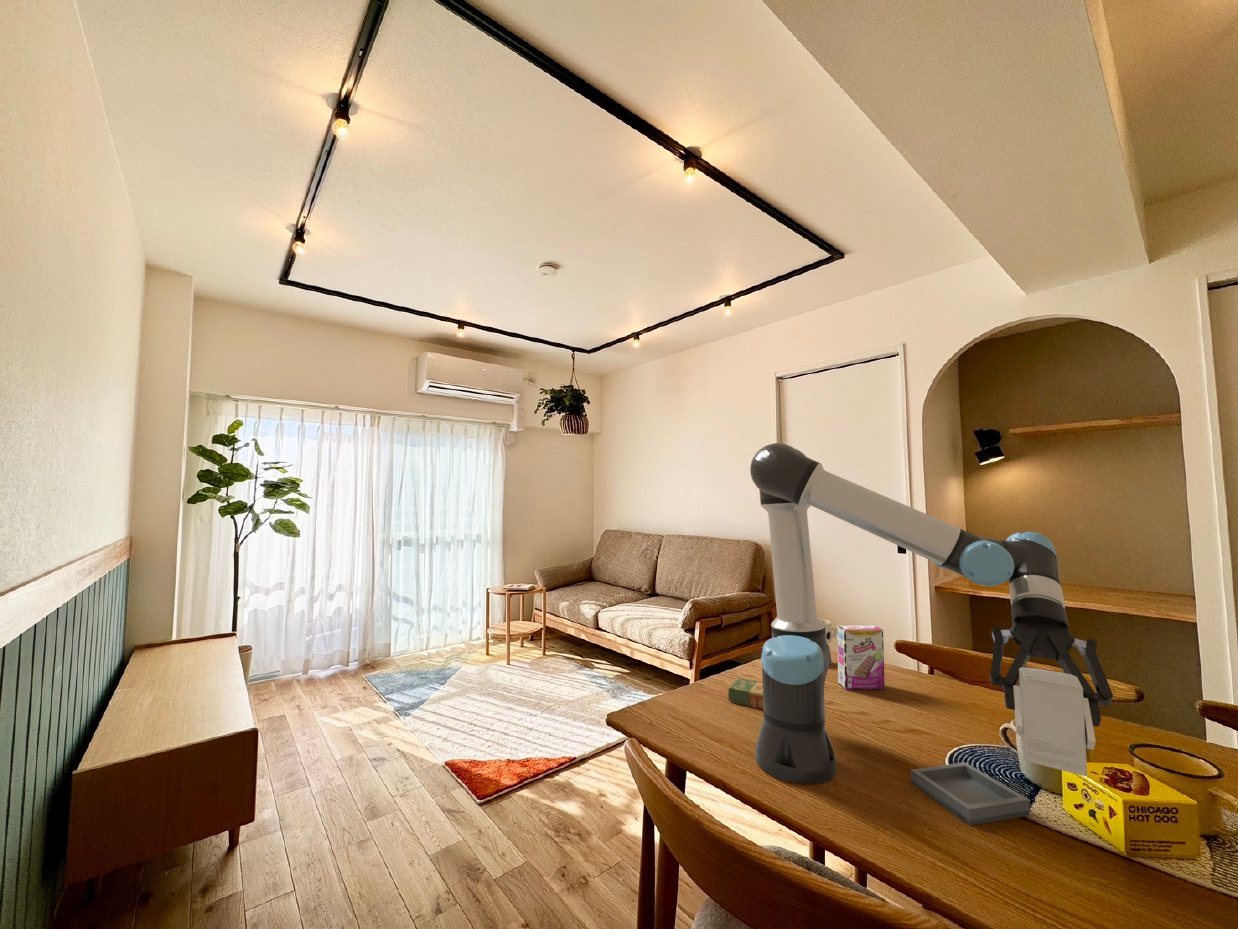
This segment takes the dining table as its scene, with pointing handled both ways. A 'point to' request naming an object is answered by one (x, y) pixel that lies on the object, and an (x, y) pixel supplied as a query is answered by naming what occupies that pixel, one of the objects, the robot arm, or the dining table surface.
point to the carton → (746, 692)
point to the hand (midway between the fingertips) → (1054, 737)
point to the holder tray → (970, 793)
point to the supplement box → (1053, 720)
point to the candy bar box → (860, 657)
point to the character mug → (829, 631)
